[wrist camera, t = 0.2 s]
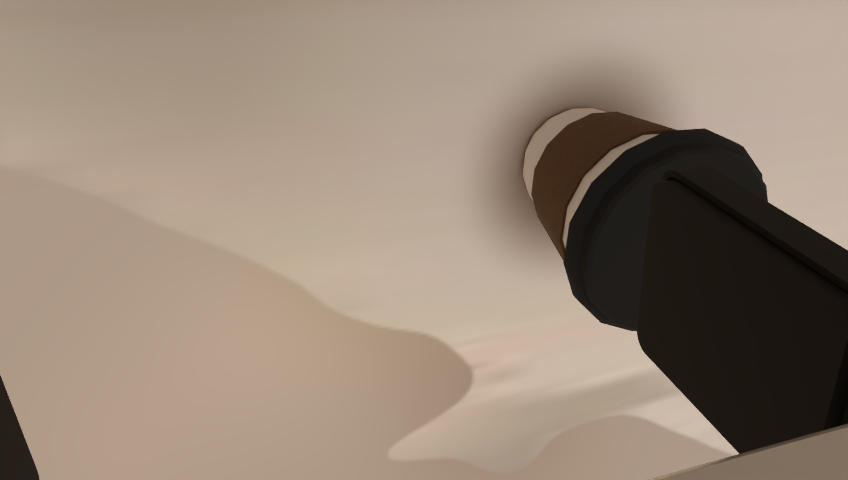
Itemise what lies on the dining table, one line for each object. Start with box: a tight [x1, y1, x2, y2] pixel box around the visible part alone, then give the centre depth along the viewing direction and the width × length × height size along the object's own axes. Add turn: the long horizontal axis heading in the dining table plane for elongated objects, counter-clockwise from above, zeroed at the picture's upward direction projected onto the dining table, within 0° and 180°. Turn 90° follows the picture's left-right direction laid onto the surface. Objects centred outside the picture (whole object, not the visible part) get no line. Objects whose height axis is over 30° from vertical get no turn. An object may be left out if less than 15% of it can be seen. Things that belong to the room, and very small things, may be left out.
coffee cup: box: [523, 108, 768, 331], centre depth 42 cm, size 11×11×12 cm
